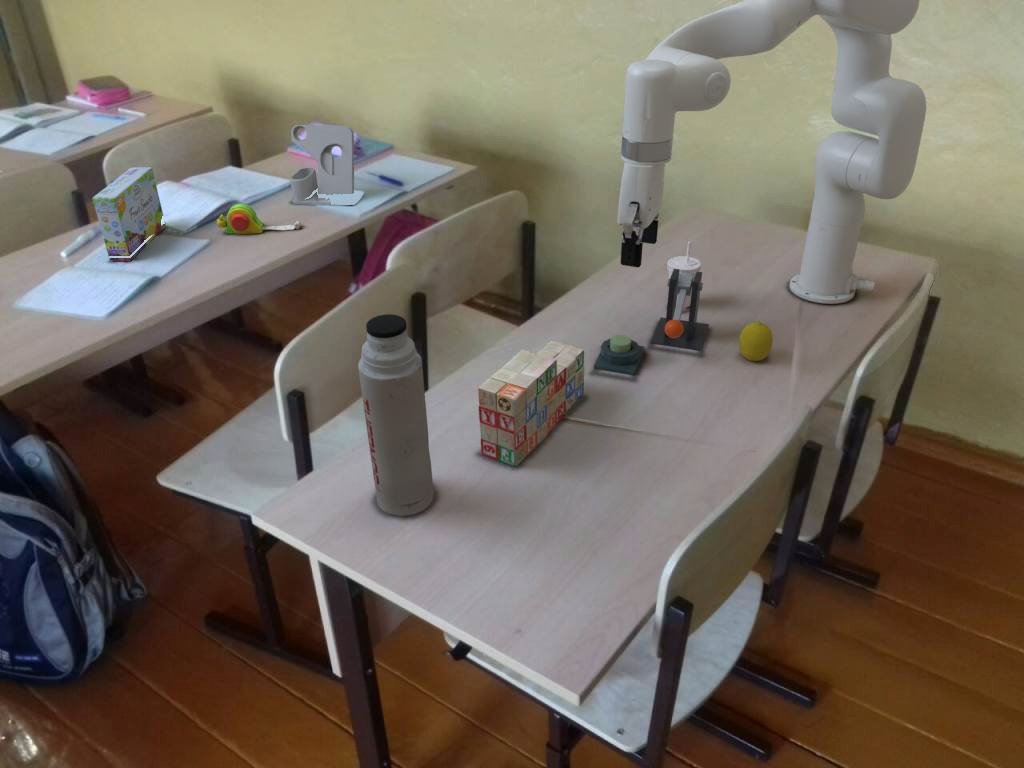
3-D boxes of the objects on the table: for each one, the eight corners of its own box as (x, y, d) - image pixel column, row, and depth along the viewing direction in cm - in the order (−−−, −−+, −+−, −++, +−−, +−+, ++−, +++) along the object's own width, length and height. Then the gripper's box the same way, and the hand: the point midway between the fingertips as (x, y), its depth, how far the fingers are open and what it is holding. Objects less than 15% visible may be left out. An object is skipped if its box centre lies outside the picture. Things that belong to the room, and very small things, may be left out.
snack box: (133, 262, 185) (115, 197, 177) (109, 262, 185) (89, 197, 177) (168, 225, 203) (152, 165, 194) (145, 225, 203) (129, 165, 195)
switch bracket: (699, 355, 146) (707, 291, 140) (649, 348, 149) (655, 284, 142) (707, 329, 154) (715, 267, 147) (660, 322, 157) (665, 260, 150)
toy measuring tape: (221, 227, 201) (215, 201, 197) (302, 222, 203) (297, 197, 199) (216, 237, 196) (210, 211, 192) (299, 233, 197) (294, 206, 194)
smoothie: (695, 316, 159) (703, 249, 151) (662, 314, 160) (668, 247, 152) (696, 301, 164) (704, 235, 156) (663, 299, 165) (669, 233, 157)
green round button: (612, 342, 145) (613, 333, 144) (632, 345, 144) (633, 336, 143) (607, 352, 142) (608, 343, 141) (628, 355, 141) (628, 346, 140)
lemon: (769, 356, 146) (777, 316, 141) (767, 372, 141) (774, 332, 137) (738, 351, 147) (744, 312, 143) (734, 367, 143) (740, 327, 139)
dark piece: (606, 348, 149) (606, 331, 147) (644, 354, 147) (645, 337, 145) (593, 373, 142) (594, 356, 140) (633, 380, 140) (634, 362, 138)
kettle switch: (681, 343, 141) (681, 331, 138) (662, 340, 142) (662, 329, 139) (695, 285, 147) (696, 273, 145) (677, 283, 148) (677, 271, 146)
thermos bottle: (375, 518, 112) (349, 340, 97) (378, 480, 119) (355, 308, 104) (433, 514, 113) (417, 336, 98) (433, 477, 119) (418, 305, 104)
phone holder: (289, 203, 214) (277, 134, 204) (304, 190, 222) (293, 122, 212) (353, 206, 211) (344, 136, 201) (366, 192, 220) (357, 124, 210)
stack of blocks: (551, 387, 139) (551, 323, 132) (584, 397, 136) (586, 332, 129) (480, 454, 124) (477, 386, 117) (515, 468, 121) (514, 398, 114)
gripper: (637, 130, 132) (630, 231, 141) (605, 162, 118) (600, 271, 128) (684, 135, 129) (674, 237, 139) (656, 168, 116) (647, 279, 125)
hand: (638, 253), depth 133 cm, fingers open, 9 cm apart
